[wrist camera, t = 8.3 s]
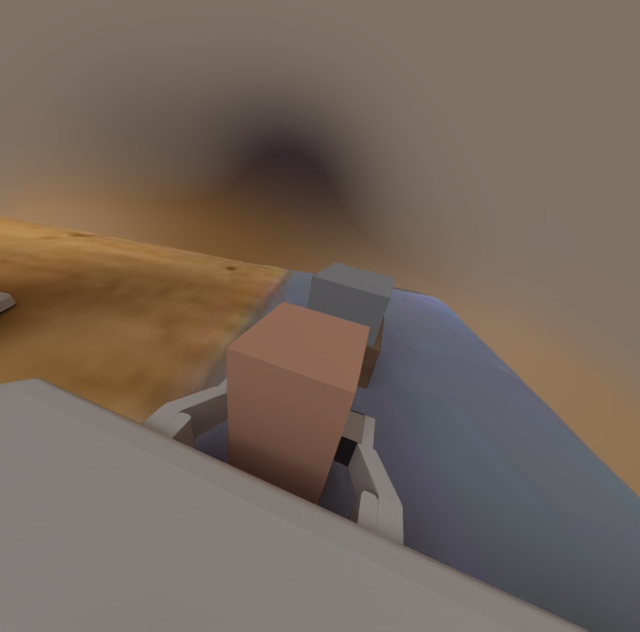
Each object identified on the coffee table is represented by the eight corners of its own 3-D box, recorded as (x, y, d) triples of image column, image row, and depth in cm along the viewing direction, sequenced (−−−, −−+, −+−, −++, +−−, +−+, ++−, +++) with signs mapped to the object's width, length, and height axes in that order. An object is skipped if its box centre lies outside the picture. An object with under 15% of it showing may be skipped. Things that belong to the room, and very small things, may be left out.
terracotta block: (230, 496, 12) (226, 347, 8) (269, 427, 16) (283, 301, 11) (307, 535, 11) (355, 393, 7) (329, 452, 15) (370, 326, 11)
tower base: (293, 365, 24) (298, 325, 22) (316, 330, 31) (322, 298, 29) (365, 390, 23) (379, 350, 21) (373, 348, 30) (384, 315, 27)
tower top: (305, 323, 23) (312, 276, 20) (327, 300, 29) (335, 262, 26) (373, 347, 21) (389, 297, 19) (382, 317, 27) (395, 277, 25)
